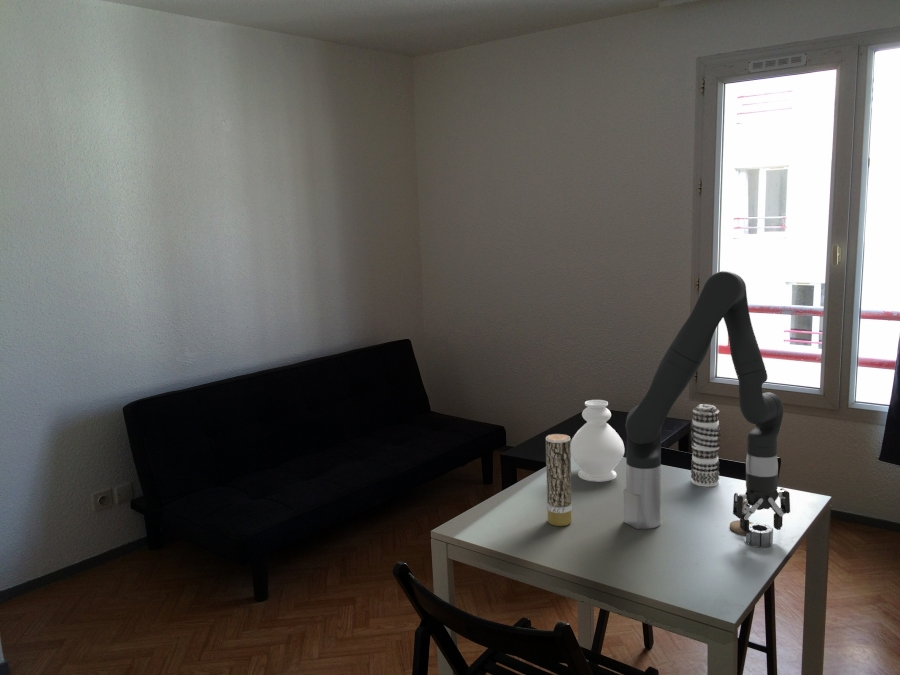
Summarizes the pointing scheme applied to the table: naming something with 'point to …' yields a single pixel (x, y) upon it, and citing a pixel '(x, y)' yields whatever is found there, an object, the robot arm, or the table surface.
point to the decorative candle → (705, 445)
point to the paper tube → (558, 479)
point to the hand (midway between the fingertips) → (761, 530)
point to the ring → (759, 535)
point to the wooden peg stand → (738, 524)
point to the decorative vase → (597, 444)
